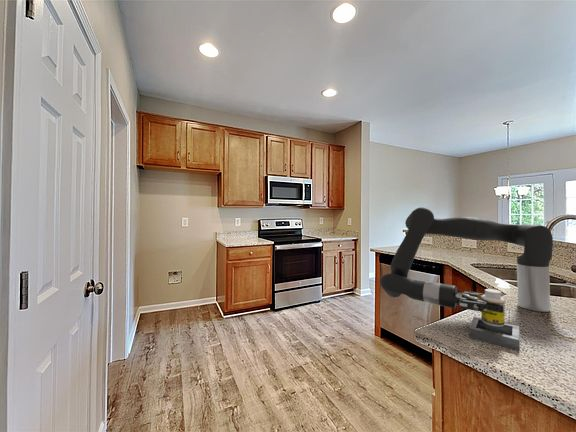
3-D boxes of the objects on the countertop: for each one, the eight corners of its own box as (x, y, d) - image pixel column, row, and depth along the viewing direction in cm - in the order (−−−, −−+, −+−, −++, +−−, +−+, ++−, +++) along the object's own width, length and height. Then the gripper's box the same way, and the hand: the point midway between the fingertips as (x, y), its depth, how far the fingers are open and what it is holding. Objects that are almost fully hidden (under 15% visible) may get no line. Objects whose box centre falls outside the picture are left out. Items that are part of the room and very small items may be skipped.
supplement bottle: (477, 321, 79) (477, 289, 79) (488, 318, 81) (488, 287, 81) (497, 328, 74) (498, 294, 74) (508, 325, 76) (508, 292, 76)
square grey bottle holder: (473, 325, 86) (473, 316, 86) (519, 335, 78) (519, 326, 78) (469, 337, 77) (469, 328, 77) (519, 350, 69) (519, 340, 69)
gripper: (434, 288, 82) (502, 299, 71) (444, 279, 93) (504, 288, 81) (434, 311, 82) (502, 326, 71) (444, 299, 93) (504, 311, 81)
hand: (503, 306), depth 76 cm, fingers closed on supplement bottle, 5 cm apart
